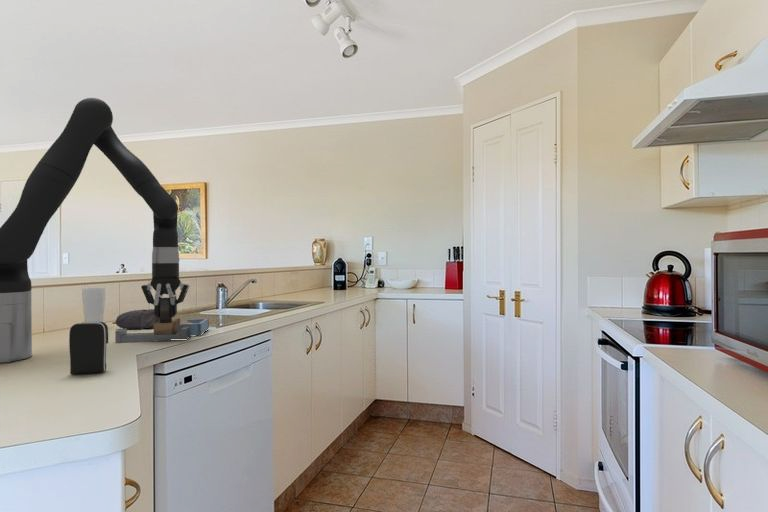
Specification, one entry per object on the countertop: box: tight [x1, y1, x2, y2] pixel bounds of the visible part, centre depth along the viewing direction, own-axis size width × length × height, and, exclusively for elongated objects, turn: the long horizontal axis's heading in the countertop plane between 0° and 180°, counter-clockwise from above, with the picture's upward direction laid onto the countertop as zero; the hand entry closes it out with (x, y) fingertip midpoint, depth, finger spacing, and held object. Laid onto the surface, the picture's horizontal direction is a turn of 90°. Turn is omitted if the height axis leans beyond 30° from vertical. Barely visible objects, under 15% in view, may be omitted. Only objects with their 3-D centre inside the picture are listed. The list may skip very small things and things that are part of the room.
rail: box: [114, 327, 191, 344], centre depth 132 cm, size 4×20×4 cm, turn 99°
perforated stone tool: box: [115, 308, 160, 330], centre depth 153 cm, size 15×5×7 cm, turn 98°
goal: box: [179, 318, 210, 336], centre depth 143 cm, size 11×7×4 cm, turn 9°
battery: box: [68, 321, 109, 375], centre depth 96 cm, size 7×4×11 cm, turn 102°
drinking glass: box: [81, 286, 106, 322], centre depth 151 cm, size 7×7×15 cm
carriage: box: [153, 297, 181, 334], centre depth 137 cm, size 16×5×13 cm, turn 9°
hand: (165, 316), depth 133 cm, fingers closed on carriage, 3 cm apart
